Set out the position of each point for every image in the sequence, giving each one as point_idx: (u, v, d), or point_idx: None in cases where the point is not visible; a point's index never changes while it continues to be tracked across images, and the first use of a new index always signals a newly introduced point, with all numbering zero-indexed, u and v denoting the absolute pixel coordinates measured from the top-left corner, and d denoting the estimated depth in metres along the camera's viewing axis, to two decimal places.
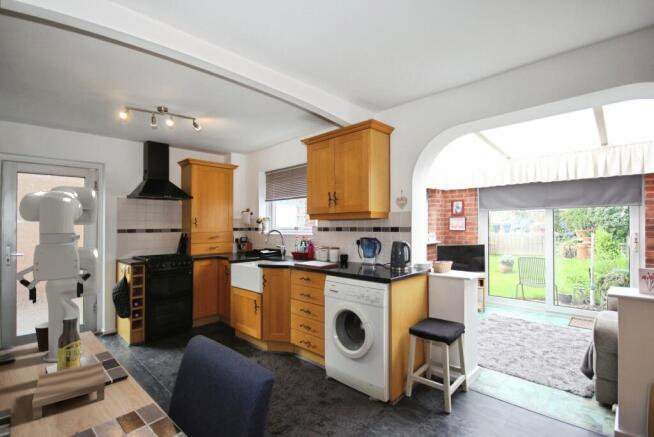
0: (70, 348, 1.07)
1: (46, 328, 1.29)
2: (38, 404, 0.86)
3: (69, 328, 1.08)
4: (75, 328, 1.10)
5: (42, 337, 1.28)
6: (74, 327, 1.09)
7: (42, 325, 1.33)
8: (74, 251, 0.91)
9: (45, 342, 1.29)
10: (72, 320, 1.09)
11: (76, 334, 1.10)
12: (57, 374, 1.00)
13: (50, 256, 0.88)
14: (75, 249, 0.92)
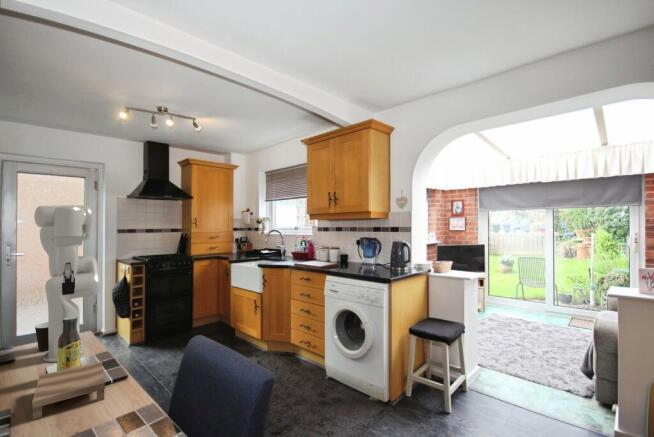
0: (70, 348, 1.07)
1: (46, 328, 1.29)
2: (38, 404, 0.86)
3: (69, 328, 1.08)
4: (75, 328, 1.10)
5: (42, 337, 1.28)
6: (74, 327, 1.09)
7: (42, 325, 1.33)
8: None
9: (45, 342, 1.29)
10: (72, 320, 1.09)
11: (76, 334, 1.10)
12: (57, 374, 1.00)
13: (77, 254, 1.09)
14: None
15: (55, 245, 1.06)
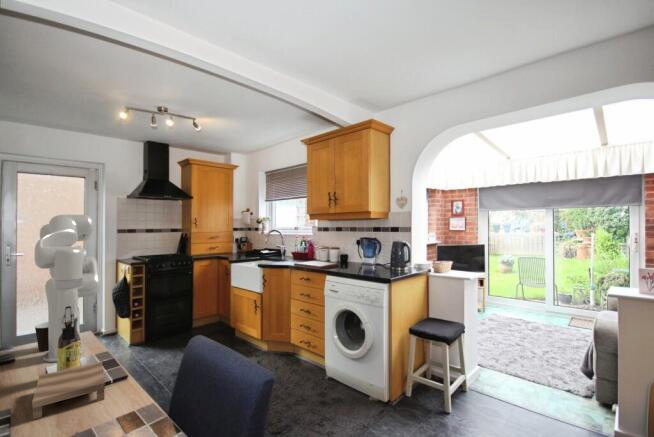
0: (70, 348, 1.07)
1: (46, 328, 1.29)
2: (38, 404, 0.86)
3: None
4: (75, 328, 1.10)
5: (42, 337, 1.28)
6: None
7: (42, 325, 1.33)
8: None
9: (45, 342, 1.29)
10: None
11: (76, 334, 1.09)
12: (57, 374, 1.00)
13: (77, 296, 1.10)
14: None
15: (55, 288, 1.06)
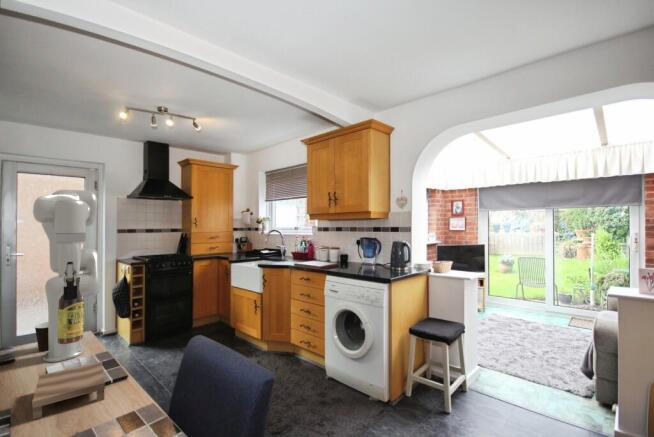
0: (72, 309, 0.96)
1: (46, 328, 1.29)
2: (38, 404, 0.86)
3: None
4: (78, 288, 0.99)
5: (42, 337, 1.28)
6: None
7: (42, 325, 1.33)
8: None
9: (45, 342, 1.29)
10: None
11: (79, 295, 0.99)
12: (57, 374, 1.00)
13: (80, 252, 0.99)
14: None
15: (56, 242, 0.95)
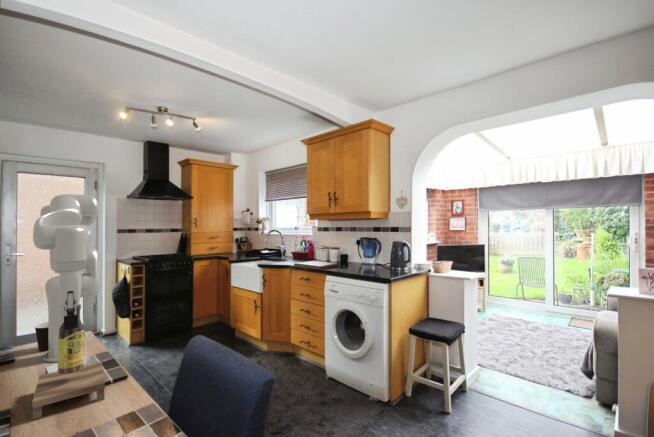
0: (73, 339, 0.95)
1: (46, 328, 1.29)
2: (38, 404, 0.86)
3: None
4: (78, 316, 0.98)
5: (42, 337, 1.28)
6: None
7: (42, 325, 1.33)
8: None
9: (45, 342, 1.29)
10: None
11: (79, 323, 0.97)
12: (57, 374, 1.00)
13: None
14: None
15: (56, 271, 0.94)
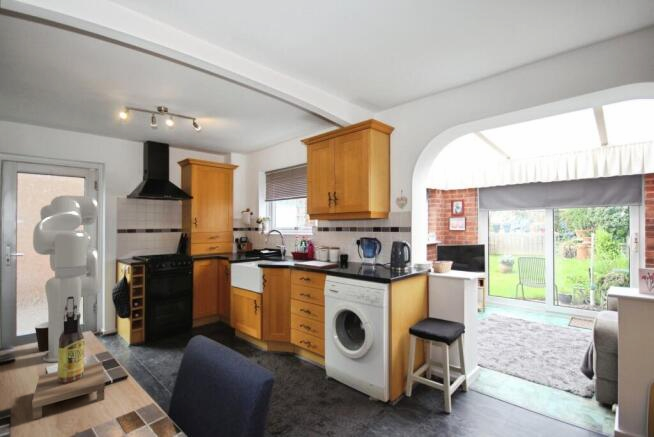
0: (73, 348, 0.95)
1: (46, 328, 1.29)
2: (38, 404, 0.86)
3: None
4: (78, 325, 0.98)
5: (42, 337, 1.28)
6: None
7: (42, 325, 1.33)
8: None
9: (45, 342, 1.29)
10: None
11: (79, 332, 0.98)
12: (57, 374, 1.00)
13: None
14: None
15: (56, 277, 0.94)
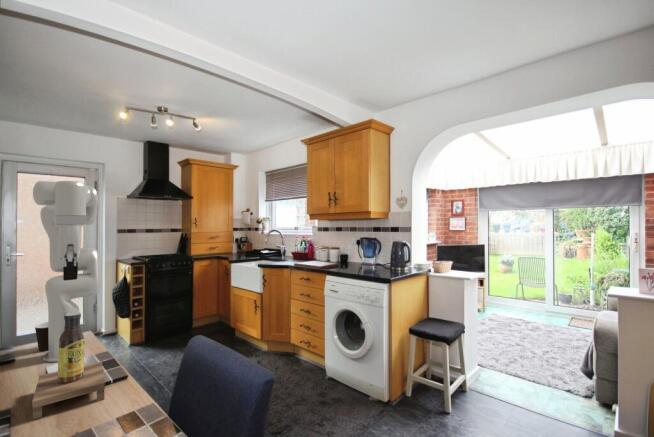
0: (73, 348, 0.95)
1: (46, 328, 1.29)
2: (38, 404, 0.86)
3: (72, 325, 0.96)
4: (78, 325, 0.98)
5: (42, 337, 1.28)
6: (77, 324, 0.97)
7: (42, 325, 1.33)
8: None
9: (45, 342, 1.29)
10: (75, 316, 0.97)
11: (79, 332, 0.98)
12: (57, 374, 1.00)
13: None
14: None
15: (56, 224, 0.94)
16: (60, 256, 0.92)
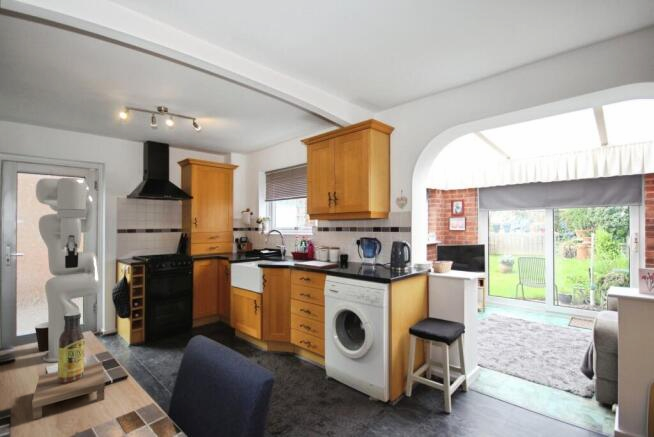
0: (73, 348, 0.95)
1: (46, 328, 1.29)
2: (38, 404, 0.86)
3: (72, 325, 0.96)
4: (78, 325, 0.98)
5: (42, 337, 1.28)
6: (77, 324, 0.97)
7: (42, 325, 1.33)
8: None
9: (45, 342, 1.29)
10: (75, 316, 0.97)
11: (79, 332, 0.98)
12: (57, 374, 1.00)
13: None
14: None
15: (58, 217, 1.03)
16: (62, 246, 1.01)
